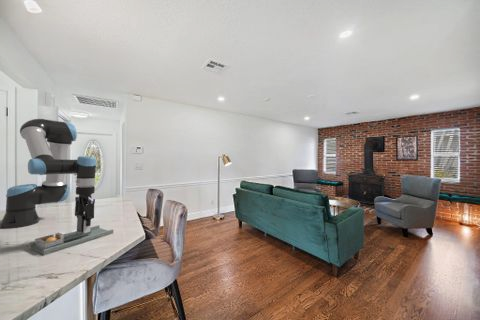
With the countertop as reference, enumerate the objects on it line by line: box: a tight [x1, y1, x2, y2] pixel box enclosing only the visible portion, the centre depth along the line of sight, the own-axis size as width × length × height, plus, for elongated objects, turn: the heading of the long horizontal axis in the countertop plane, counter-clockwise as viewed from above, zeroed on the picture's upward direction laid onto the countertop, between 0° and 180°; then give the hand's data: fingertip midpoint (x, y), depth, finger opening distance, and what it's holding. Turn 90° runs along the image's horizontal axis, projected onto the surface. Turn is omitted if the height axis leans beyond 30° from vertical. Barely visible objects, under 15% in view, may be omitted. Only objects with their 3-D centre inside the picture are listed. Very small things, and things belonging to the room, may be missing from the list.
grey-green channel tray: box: [28, 224, 114, 256], centre depth 94 cm, size 14×28×2 cm, turn 155°
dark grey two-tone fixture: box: [54, 213, 91, 243], centre depth 93 cm, size 5×13×11 cm, turn 155°
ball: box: [45, 236, 57, 242], centre depth 85 cm, size 4×4×4 cm
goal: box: [34, 234, 63, 251], centre depth 85 cm, size 10×6×4 cm, turn 65°
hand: (83, 231), depth 97 cm, fingers open, 5 cm apart
